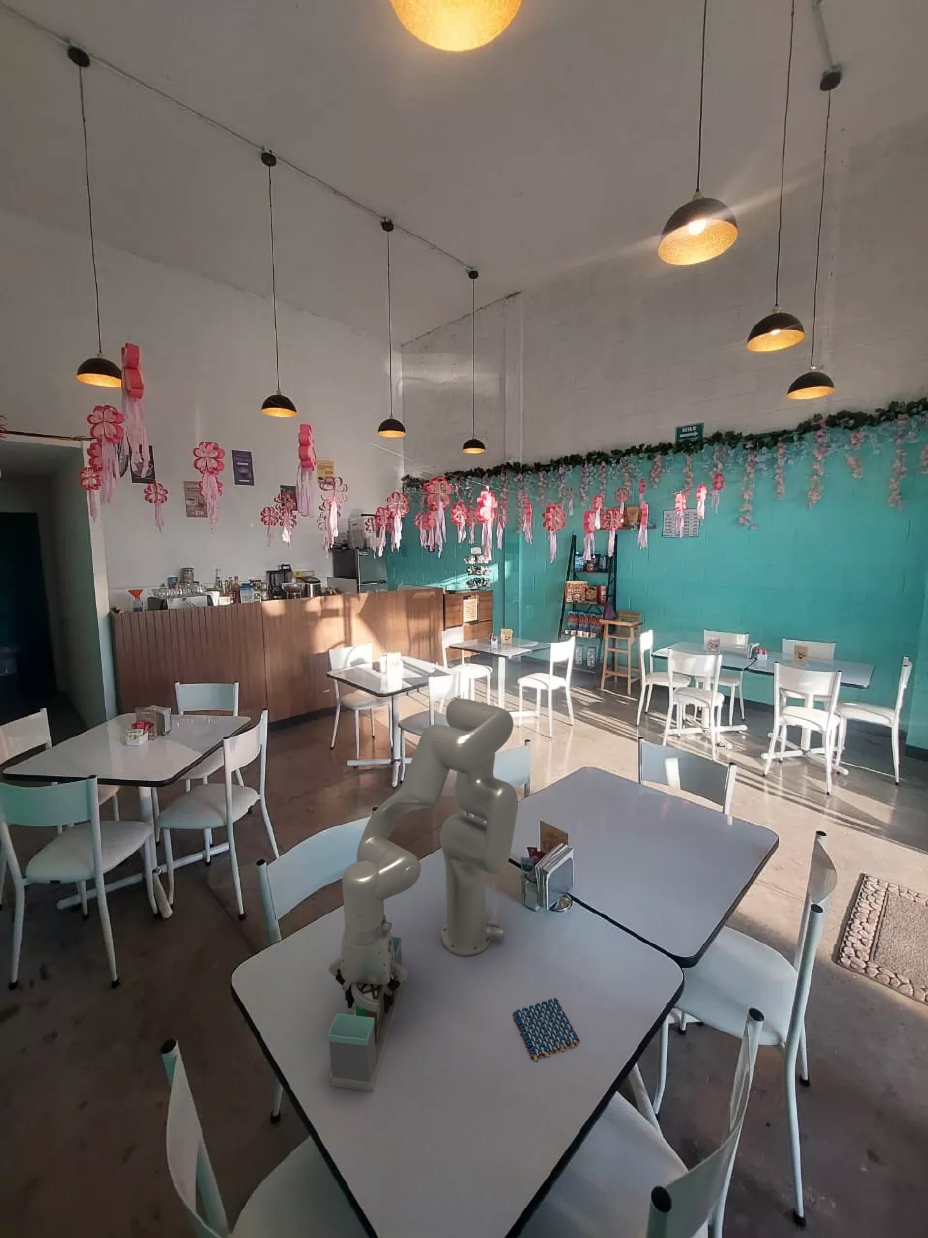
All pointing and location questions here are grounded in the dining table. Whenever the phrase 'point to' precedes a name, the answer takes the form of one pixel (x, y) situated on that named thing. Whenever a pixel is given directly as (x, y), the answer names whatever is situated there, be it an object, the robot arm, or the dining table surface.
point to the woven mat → (545, 1028)
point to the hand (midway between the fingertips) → (370, 1004)
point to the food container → (368, 1001)
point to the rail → (379, 1046)
